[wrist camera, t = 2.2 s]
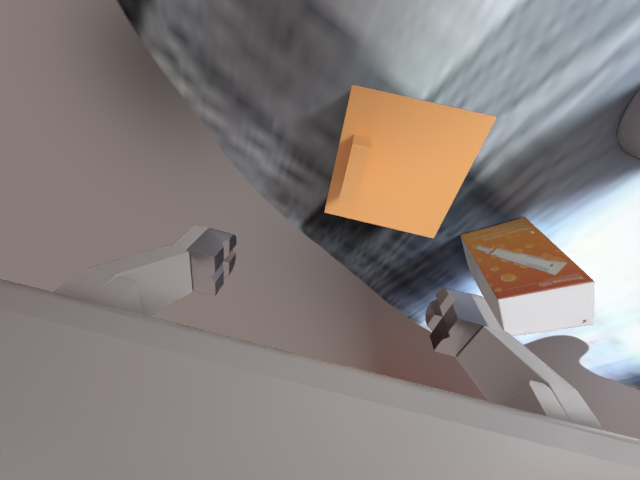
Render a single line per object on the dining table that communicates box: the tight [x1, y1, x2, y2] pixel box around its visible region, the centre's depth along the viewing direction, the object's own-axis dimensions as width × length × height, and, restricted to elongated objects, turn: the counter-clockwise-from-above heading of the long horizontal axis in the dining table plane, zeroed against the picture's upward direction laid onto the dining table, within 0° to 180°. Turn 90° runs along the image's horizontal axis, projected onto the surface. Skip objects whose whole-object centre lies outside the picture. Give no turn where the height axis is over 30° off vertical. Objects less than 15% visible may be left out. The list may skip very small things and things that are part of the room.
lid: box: [324, 85, 497, 238], centre depth 25 cm, size 13×13×6 cm
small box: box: [461, 217, 595, 336], centre depth 31 cm, size 8×6×13 cm
